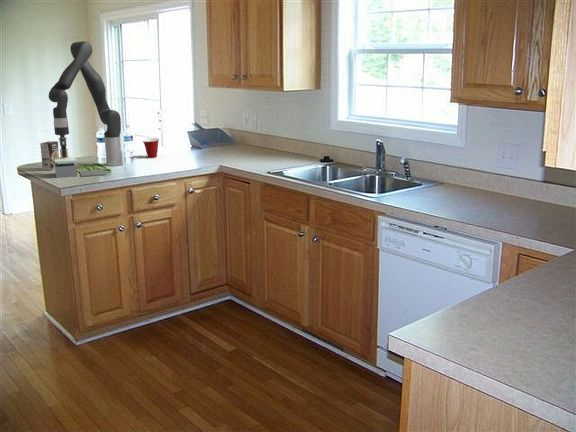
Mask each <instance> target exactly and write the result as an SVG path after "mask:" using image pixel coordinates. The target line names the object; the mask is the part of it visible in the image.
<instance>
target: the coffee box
mask: <svg viewBox="0 0 576 432" xmlns="http://www.w3.org/2000/svg"><path fill="white" fill-rule="evenodd" d="M39 144H40V154H41V156H40V157H41V165H42V171H49V172H52V171H55V164H54V163H55V161H54V158H60V149H59V140H58V141H56V140H55V141H53V140H52V141H44V142H40V143H39Z"/></svg>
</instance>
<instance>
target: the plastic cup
mask: <svg viewBox="0 0 576 432" xmlns="http://www.w3.org/2000/svg"><path fill="white" fill-rule="evenodd" d="M159 140H160V138H158V137H157V138H156V137H155V138H154V137H153V138H146V139H143V140H142V143H143V144H144V148H145V152H146V155H147V158H148V159H156V158H157V157H158V150H159V149H158V148H159Z"/></svg>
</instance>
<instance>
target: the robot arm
mask: <svg viewBox="0 0 576 432" xmlns="http://www.w3.org/2000/svg"><path fill="white" fill-rule="evenodd" d="M69 50H70V53H71V56H72V58H73V60H72V61H71V62H70V63H69V64H68V66H67V67H66V68H65V69H64V70H63V72H62V73H61V75H60V76H59V79H58V81H57V82H55V84H54V85H53V86H52V87H51V88H50V89H49V92H48V100H49V101H50V102H52V103H56V107H53V108H52V114H53V115H52V116H53V127H54V128H53V129H54V135H55V136H59V137H58V142H59V147H60V149H61V150H62V157H67V155H66V149H67V140H68V139H67V137H66V136H68V135H70V131H69V130H70V129H69V127H70V126H69V121H68V120H69V119H68V114H67V109H68V108H67V107H68V103H69V102H68V101H69V97H68V96H69V95H68V94H67V91H68V90H69V89H71V87H72V85H73V84H74V81H75V80H76V79H75V78H76V77H77V75H78V74H79V72H80V73H81V75H82V77H83V79H84V81H85V84H86V86H87V89H88V91H89V93H90V95H91V97H92V101H93V102H94V105H95V107H96V110H97V113H98V116H99V119H100V121H101V123H102V124H104V125H106V131H104V133H103V139H104V151H105V158H106V159H105V163H106V165H107V166H110V167H116V166H123V153H122V152H123V151H122V145H121V144H122V143H121V132H122V124H121V123H122V121H121V115H120V112H119V111H117V110H113V109H111V108H110V107H109V104H108V102H107V98H106V97H107V94H106V92H107V91H106V90H107V89H106V86H105V84H104V82H103V81H104V80H103V78H102V77H101V75H100V74H99V73H98V72H97V71H96V70H95V69H94V68H93V66H92V65H91V64H90V62H89V59H90V58H91V56H92V54H93V46H92V44H91V43H90V42H88V41H86V40H82V41H81V40H80V41H75V42H72V43H71V44H70V49H69Z"/></svg>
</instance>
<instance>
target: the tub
mask: <svg viewBox="0 0 576 432" xmlns="http://www.w3.org/2000/svg"><path fill="white" fill-rule="evenodd" d="M54 164H55V170H54V172H55V177H56V178H57V179H59V178H60V179H61V178H70V177H73V178H75V177H78V171H77V170H78V169H77V164H76V162H74V163H69V164H57V163H54Z"/></svg>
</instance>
